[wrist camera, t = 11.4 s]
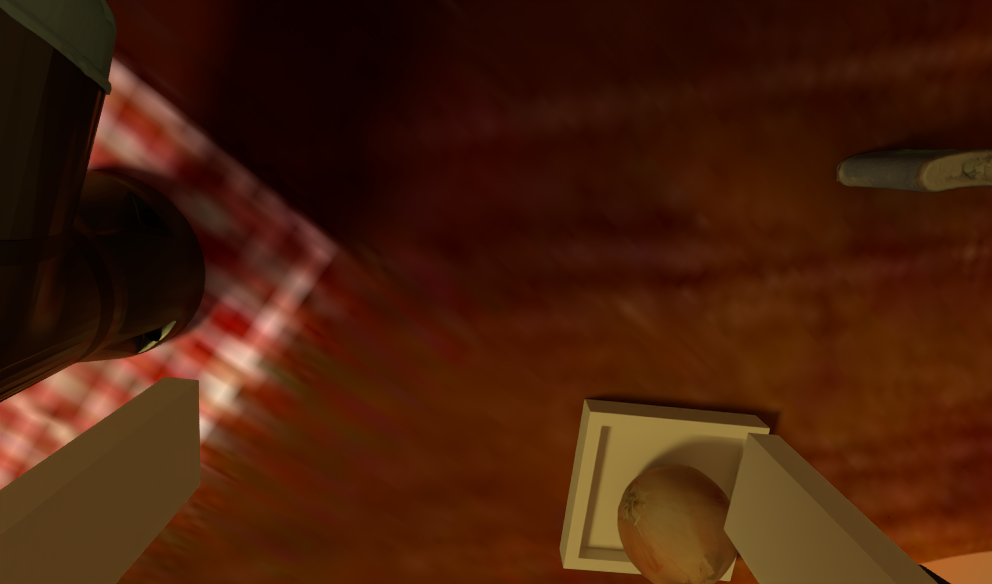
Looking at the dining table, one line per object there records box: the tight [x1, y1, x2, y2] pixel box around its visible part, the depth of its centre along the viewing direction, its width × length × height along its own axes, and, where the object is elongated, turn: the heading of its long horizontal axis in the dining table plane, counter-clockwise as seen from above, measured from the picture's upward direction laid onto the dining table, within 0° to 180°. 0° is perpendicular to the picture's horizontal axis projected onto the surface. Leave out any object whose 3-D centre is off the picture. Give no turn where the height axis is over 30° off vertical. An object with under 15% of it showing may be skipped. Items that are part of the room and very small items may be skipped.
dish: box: [560, 399, 770, 581], centre depth 49 cm, size 16×16×2 cm
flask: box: [836, 149, 992, 193], centre depth 39 cm, size 9×3×11 cm, turn 91°
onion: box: [617, 465, 738, 584], centre depth 45 cm, size 10×10×10 cm
